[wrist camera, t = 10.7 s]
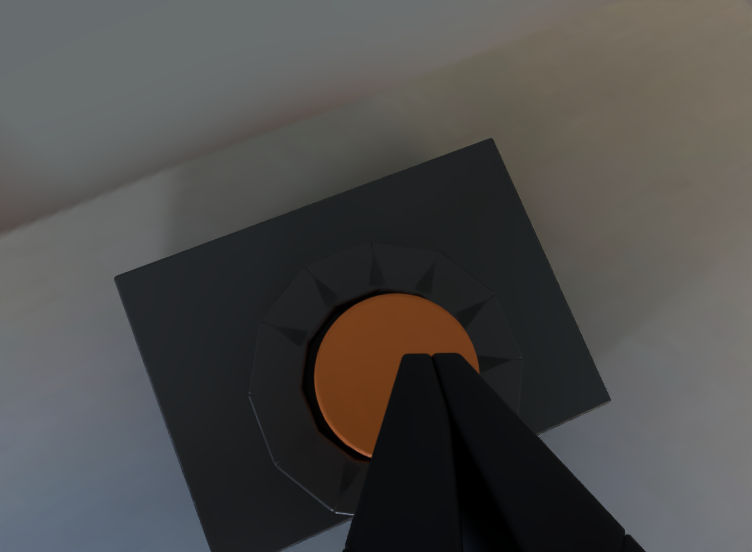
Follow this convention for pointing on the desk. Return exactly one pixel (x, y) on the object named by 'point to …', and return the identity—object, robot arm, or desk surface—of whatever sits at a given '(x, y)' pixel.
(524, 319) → the push button box
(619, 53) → the desk surface
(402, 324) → the orange push button
